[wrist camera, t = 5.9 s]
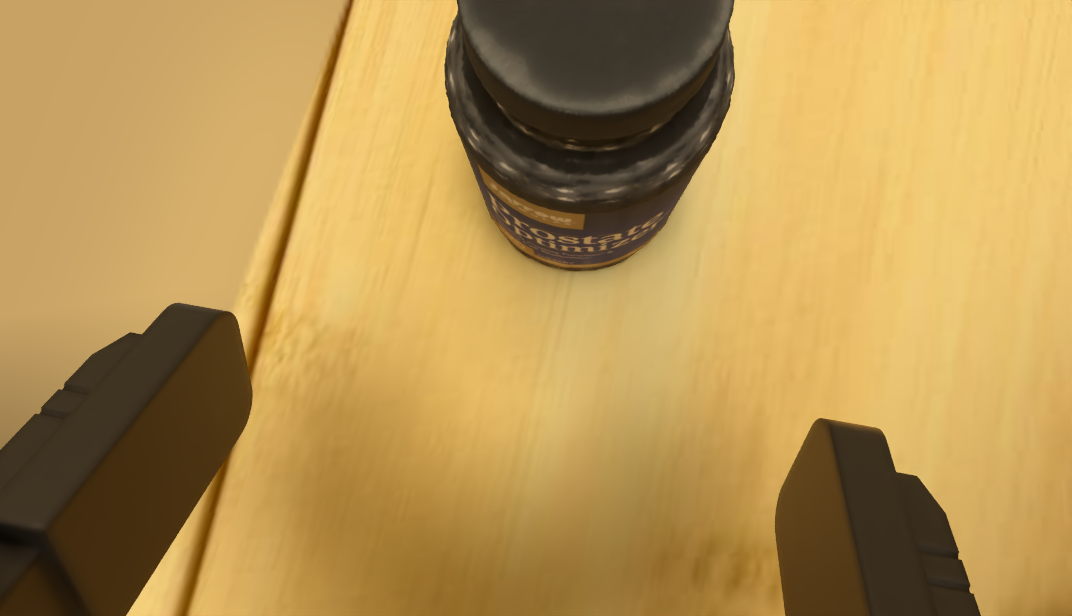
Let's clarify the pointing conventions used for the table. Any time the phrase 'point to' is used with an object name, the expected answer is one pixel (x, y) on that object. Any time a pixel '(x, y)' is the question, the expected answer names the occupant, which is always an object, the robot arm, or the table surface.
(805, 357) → the table surface
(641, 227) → the pill bottle
